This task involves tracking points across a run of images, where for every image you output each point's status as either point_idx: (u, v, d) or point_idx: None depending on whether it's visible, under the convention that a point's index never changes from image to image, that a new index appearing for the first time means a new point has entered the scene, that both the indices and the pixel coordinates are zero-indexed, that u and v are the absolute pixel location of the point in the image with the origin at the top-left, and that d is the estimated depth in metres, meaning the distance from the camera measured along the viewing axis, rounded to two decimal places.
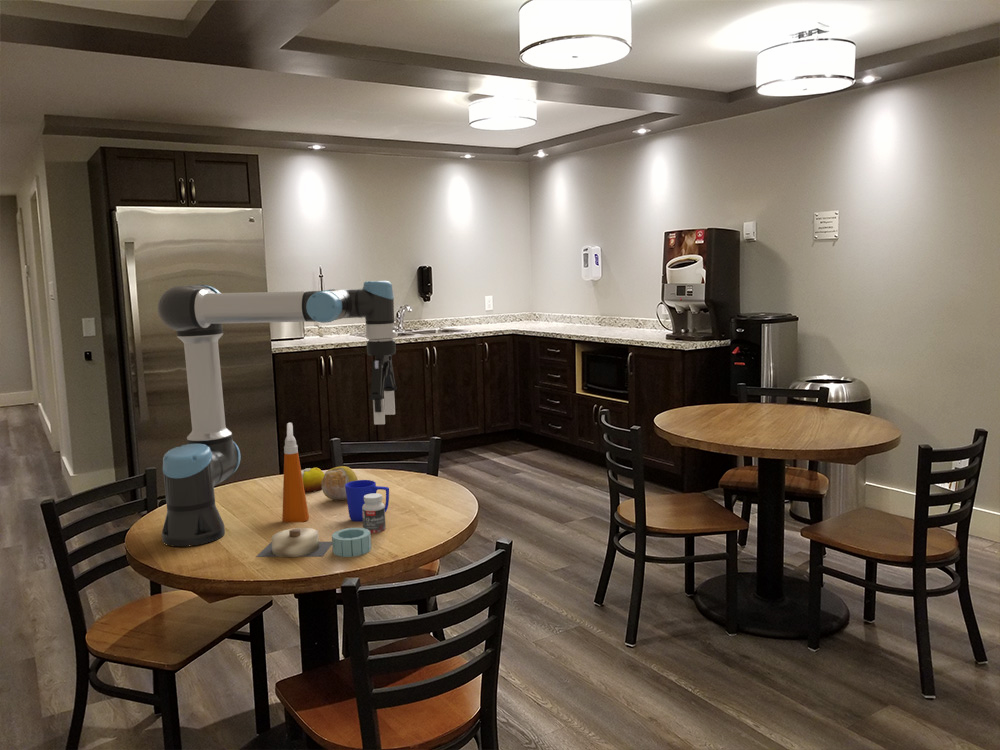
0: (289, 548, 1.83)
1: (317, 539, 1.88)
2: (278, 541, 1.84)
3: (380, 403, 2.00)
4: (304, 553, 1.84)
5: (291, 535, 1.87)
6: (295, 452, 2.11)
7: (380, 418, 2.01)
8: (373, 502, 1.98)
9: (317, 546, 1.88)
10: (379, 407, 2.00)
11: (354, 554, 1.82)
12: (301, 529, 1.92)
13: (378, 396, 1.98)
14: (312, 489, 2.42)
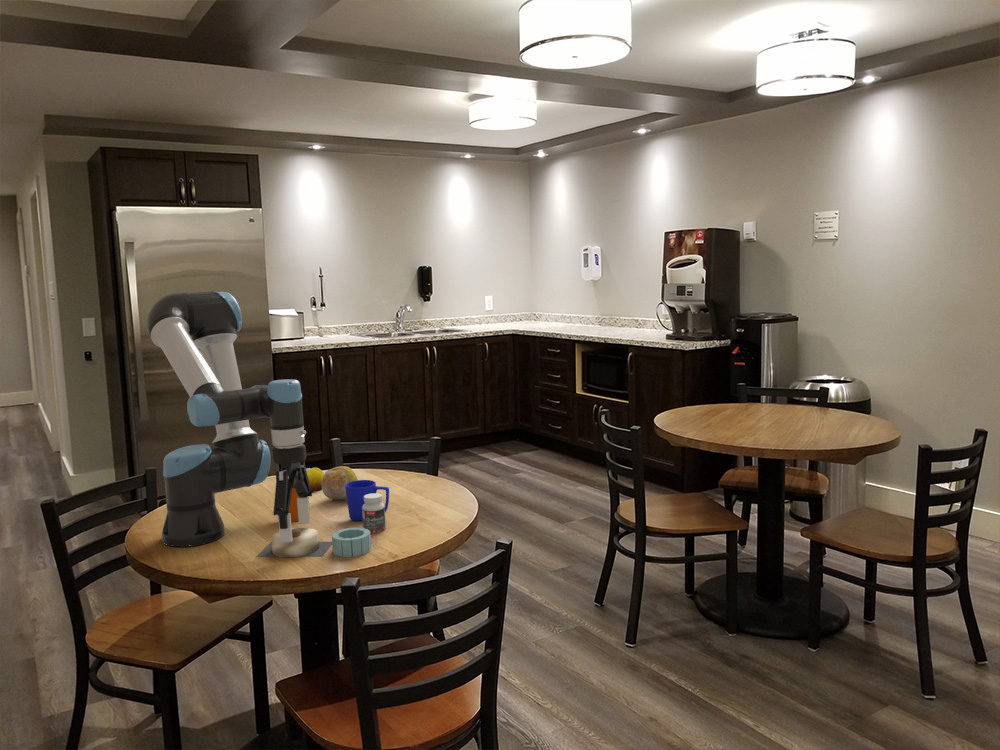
0: (289, 548, 1.83)
1: (317, 539, 1.88)
2: (278, 541, 1.84)
3: (286, 518, 1.79)
4: (304, 553, 1.84)
5: None
6: None
7: (286, 535, 1.80)
8: (373, 502, 1.98)
9: (317, 546, 1.88)
10: (284, 523, 1.79)
11: (354, 554, 1.82)
12: (301, 529, 1.92)
13: (282, 512, 1.77)
14: (312, 489, 2.42)
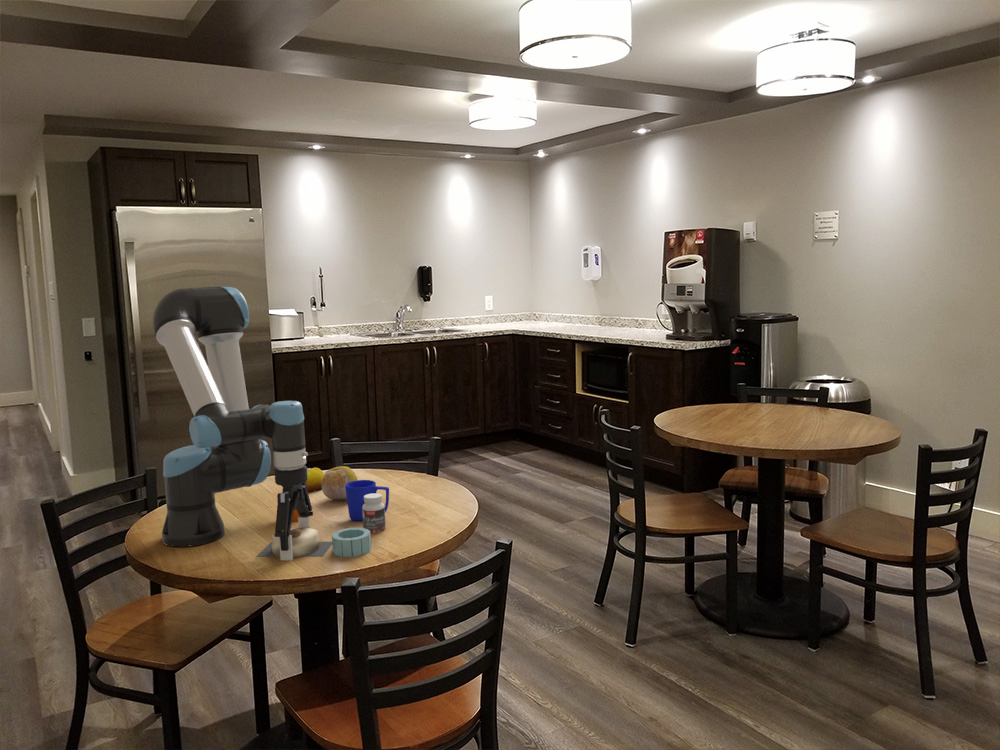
0: None
1: (317, 539, 1.88)
2: (278, 541, 1.84)
3: (287, 540, 1.80)
4: (304, 553, 1.84)
5: None
6: None
7: (287, 556, 1.81)
8: (373, 502, 1.98)
9: (317, 546, 1.88)
10: (285, 545, 1.80)
11: (354, 554, 1.82)
12: (301, 529, 1.92)
13: (283, 535, 1.78)
14: (312, 489, 2.42)
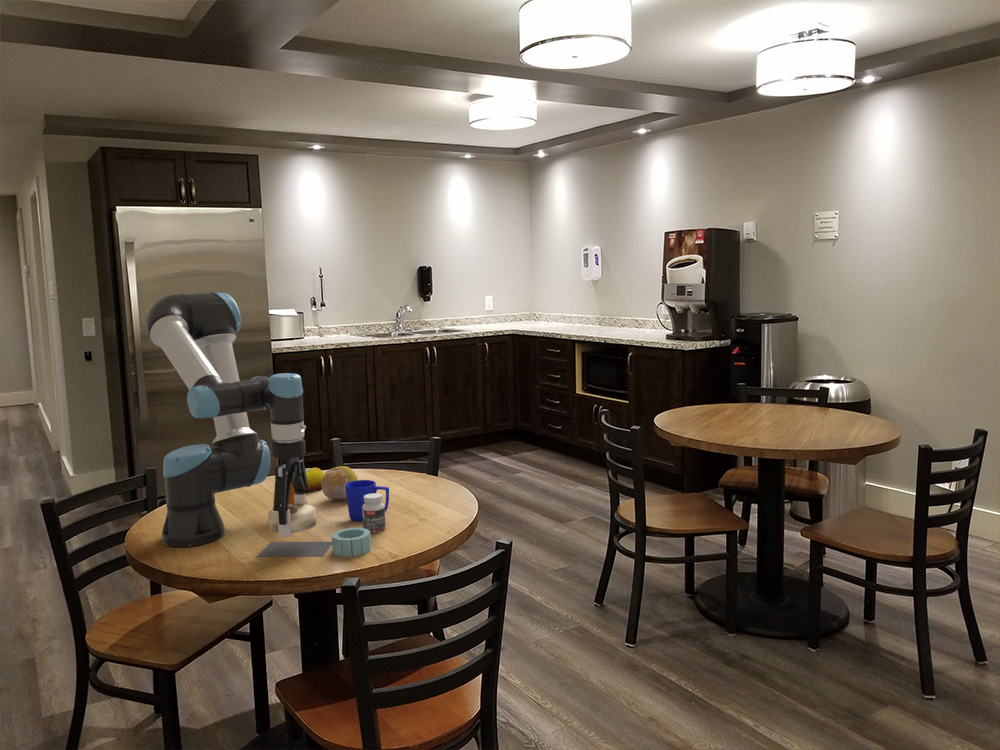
0: None
1: (314, 515, 1.88)
2: (275, 517, 1.84)
3: (285, 515, 1.81)
4: (301, 529, 1.84)
5: None
6: None
7: (285, 530, 1.82)
8: (373, 502, 1.98)
9: (314, 522, 1.88)
10: (284, 519, 1.81)
11: (354, 554, 1.82)
12: (298, 505, 1.92)
13: (281, 509, 1.78)
14: (312, 489, 2.42)
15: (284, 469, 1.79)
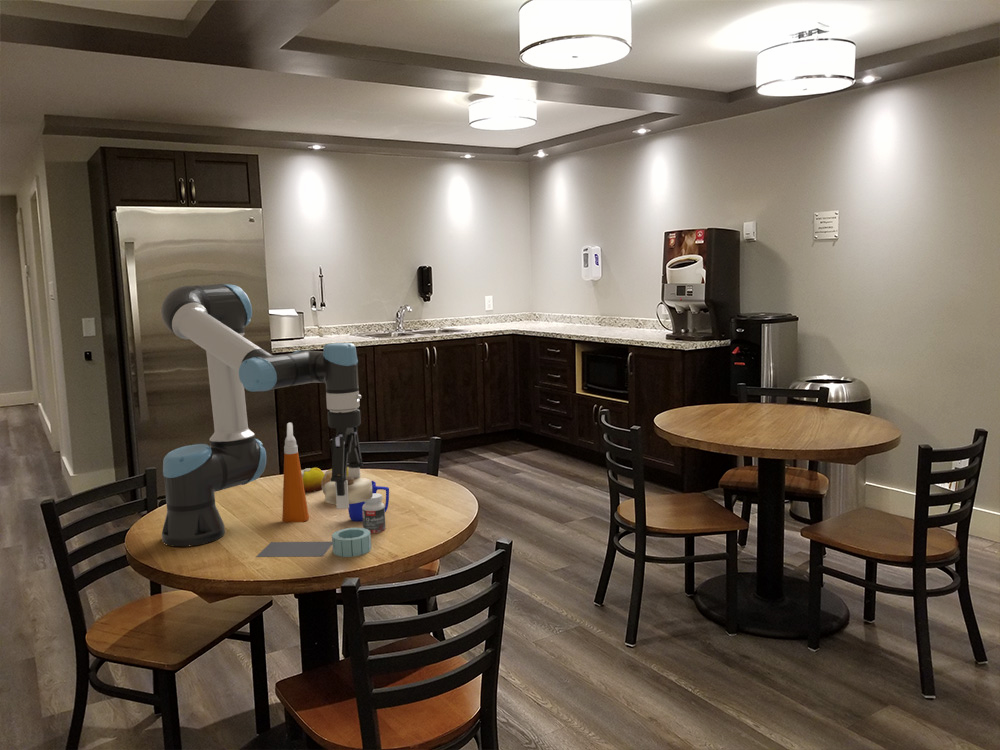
0: None
1: (371, 487, 1.84)
2: (332, 488, 1.81)
3: (343, 485, 1.78)
4: (359, 500, 1.80)
5: None
6: (295, 452, 2.11)
7: (343, 502, 1.79)
8: (373, 502, 1.98)
9: (371, 494, 1.84)
10: (342, 490, 1.77)
11: (354, 554, 1.82)
12: (353, 478, 1.89)
13: (340, 479, 1.75)
14: (312, 489, 2.42)
15: (341, 438, 1.76)
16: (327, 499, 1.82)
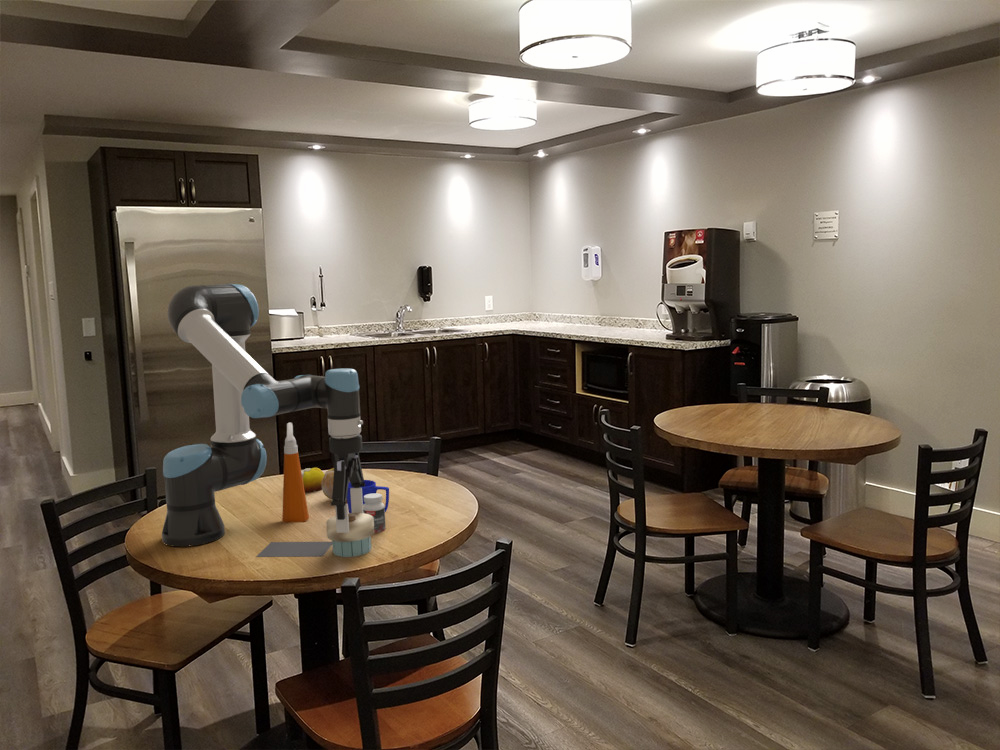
0: (345, 533, 1.80)
1: (372, 524, 1.85)
2: (334, 525, 1.82)
3: (343, 509, 1.77)
4: (360, 538, 1.82)
5: None
6: (295, 452, 2.11)
7: (343, 526, 1.79)
8: (373, 502, 1.98)
9: (372, 531, 1.85)
10: (342, 514, 1.77)
11: (354, 554, 1.82)
12: (355, 514, 1.90)
13: (340, 503, 1.75)
14: (312, 489, 2.42)
15: (343, 462, 1.77)
16: (329, 536, 1.83)
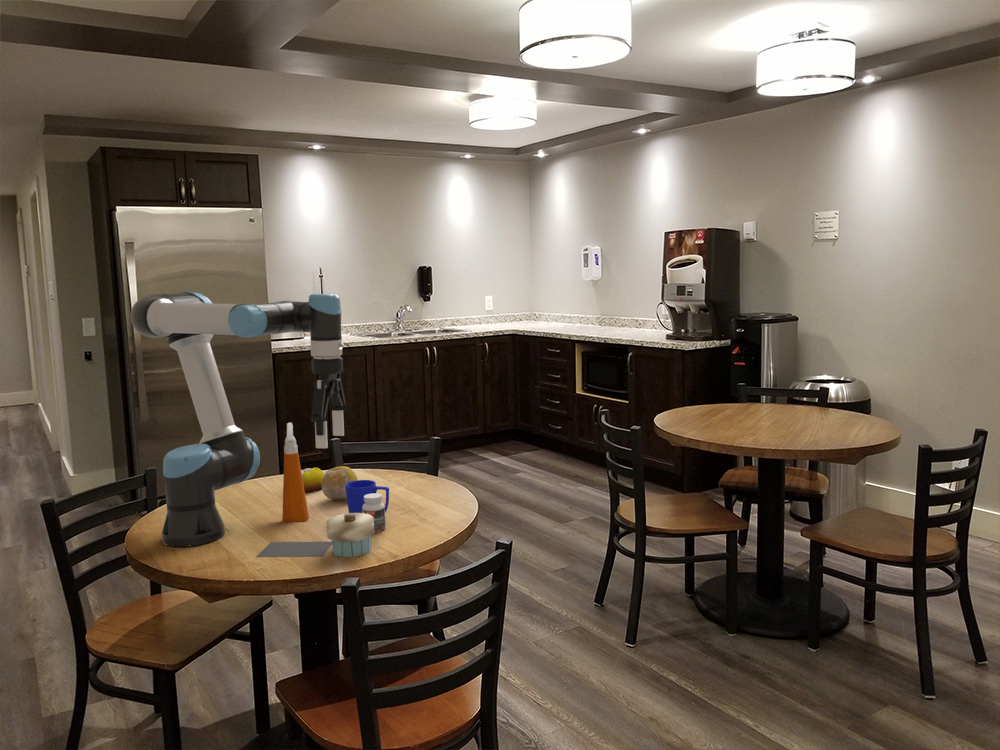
0: (345, 533, 1.80)
1: (372, 524, 1.85)
2: (334, 525, 1.82)
3: (322, 425, 1.87)
4: (360, 538, 1.82)
5: (346, 520, 1.84)
6: (295, 452, 2.11)
7: (322, 441, 1.88)
8: (373, 502, 1.98)
9: (372, 531, 1.85)
10: (321, 430, 1.86)
11: (354, 554, 1.82)
12: (355, 514, 1.90)
13: (319, 419, 1.84)
14: (312, 489, 2.42)
15: (323, 381, 1.86)
16: (329, 536, 1.83)
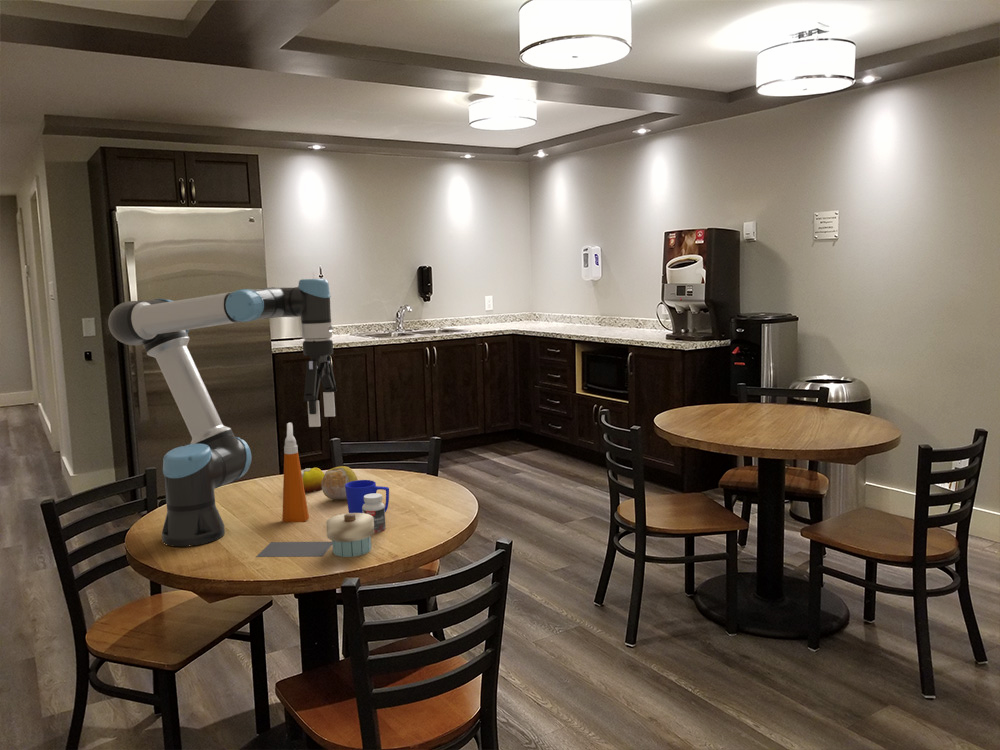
0: (345, 533, 1.80)
1: (372, 524, 1.85)
2: (334, 525, 1.82)
3: (315, 405, 1.94)
4: (360, 538, 1.82)
5: (346, 520, 1.84)
6: (295, 452, 2.11)
7: (315, 420, 1.95)
8: (373, 502, 1.98)
9: (372, 531, 1.85)
10: (313, 409, 1.94)
11: (354, 554, 1.82)
12: (355, 514, 1.90)
13: (312, 398, 1.92)
14: (312, 489, 2.42)
15: (315, 362, 1.94)
16: (329, 536, 1.83)
